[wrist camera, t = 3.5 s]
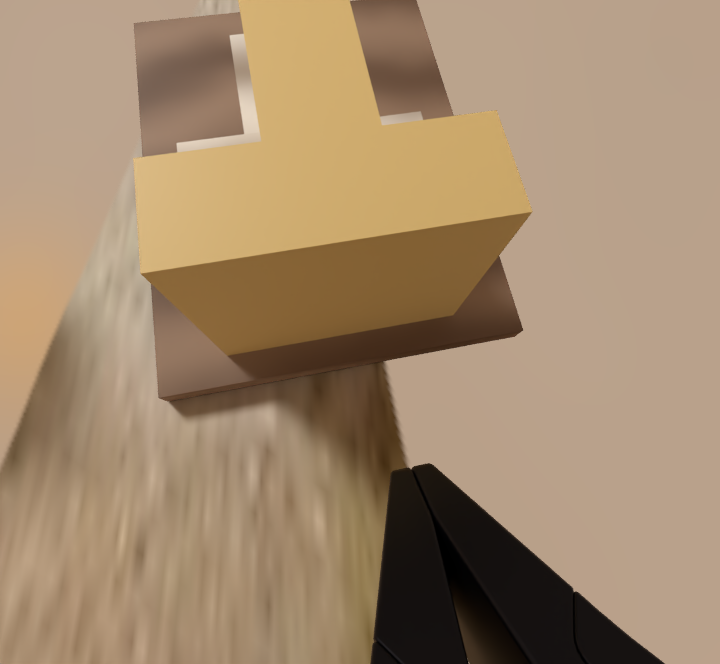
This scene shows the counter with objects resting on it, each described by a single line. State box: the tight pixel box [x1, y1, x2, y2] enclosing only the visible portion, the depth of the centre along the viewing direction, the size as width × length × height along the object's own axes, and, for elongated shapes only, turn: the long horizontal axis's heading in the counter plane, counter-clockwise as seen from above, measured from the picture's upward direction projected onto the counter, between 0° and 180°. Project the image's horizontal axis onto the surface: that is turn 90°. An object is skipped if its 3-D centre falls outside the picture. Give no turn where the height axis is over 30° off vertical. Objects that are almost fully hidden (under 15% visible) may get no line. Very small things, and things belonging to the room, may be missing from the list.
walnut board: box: [134, 0, 523, 401], centre depth 26 cm, size 25×19×1 cm
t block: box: [133, 0, 532, 356], centre depth 19 cm, size 12×12×10 cm
